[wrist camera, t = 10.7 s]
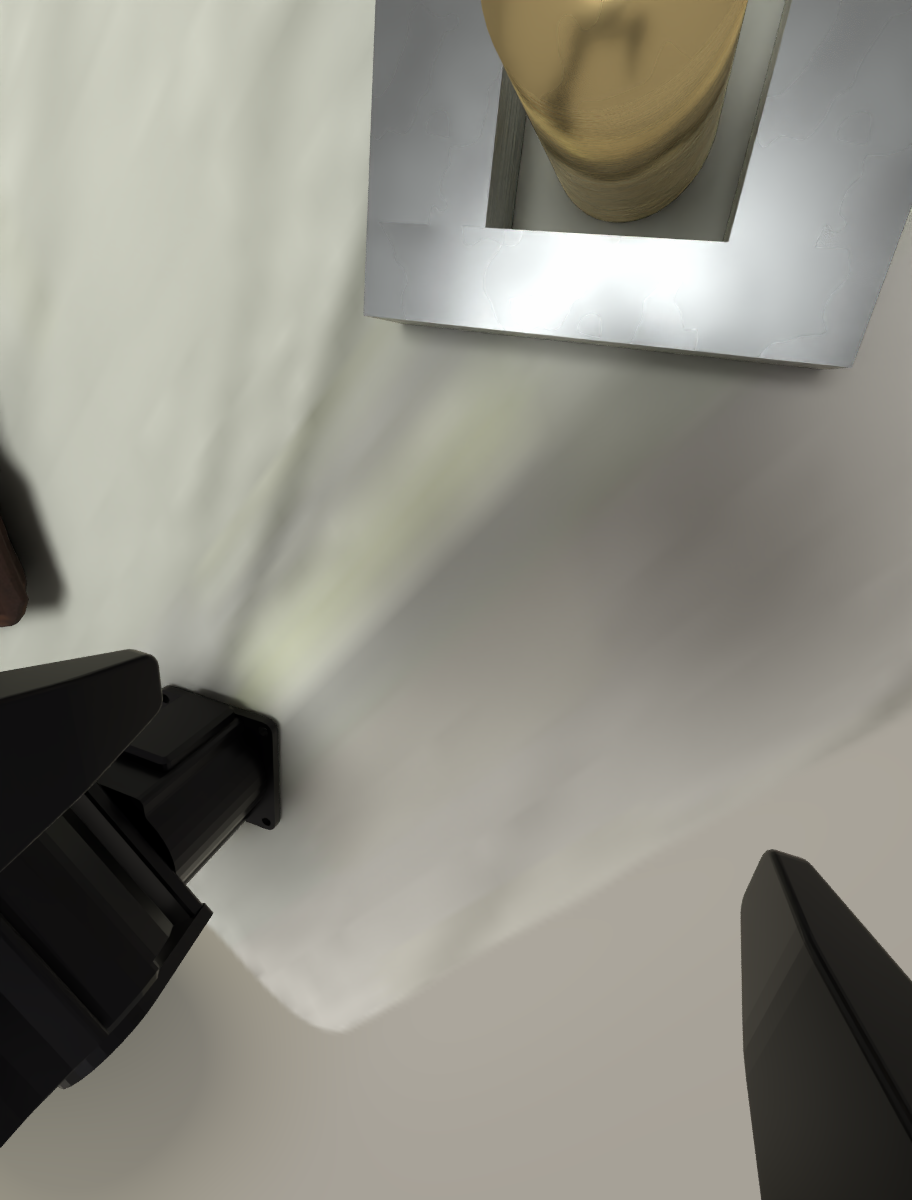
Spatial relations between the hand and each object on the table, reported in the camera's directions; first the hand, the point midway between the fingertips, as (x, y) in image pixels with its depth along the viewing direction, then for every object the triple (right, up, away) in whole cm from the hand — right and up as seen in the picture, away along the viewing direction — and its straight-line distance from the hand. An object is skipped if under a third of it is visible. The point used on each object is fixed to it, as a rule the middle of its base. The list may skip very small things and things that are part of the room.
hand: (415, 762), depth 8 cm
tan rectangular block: (+5, +14, +6) cm, 16 cm away
